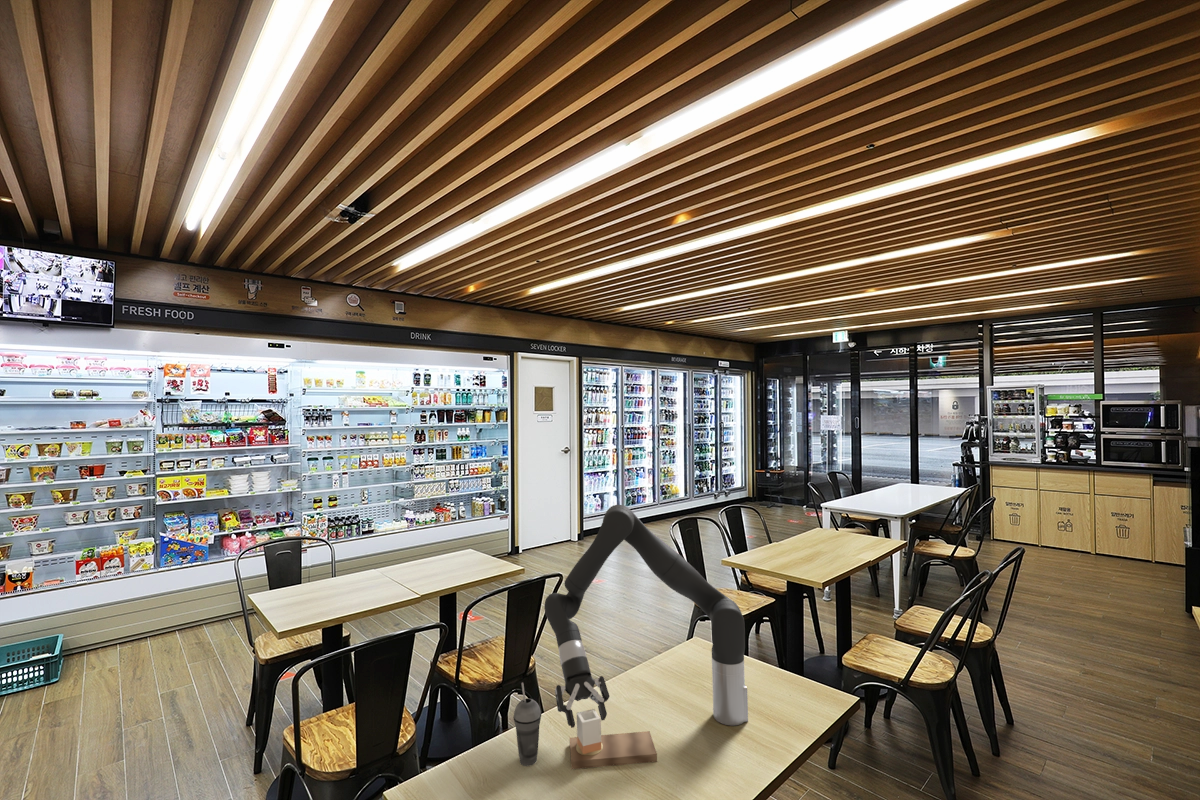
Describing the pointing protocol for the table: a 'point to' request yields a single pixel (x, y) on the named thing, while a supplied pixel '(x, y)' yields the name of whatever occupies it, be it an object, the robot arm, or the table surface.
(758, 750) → the table surface
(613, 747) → the pin board
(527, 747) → the beverage cup
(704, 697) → the table surface
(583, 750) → the sleeve
